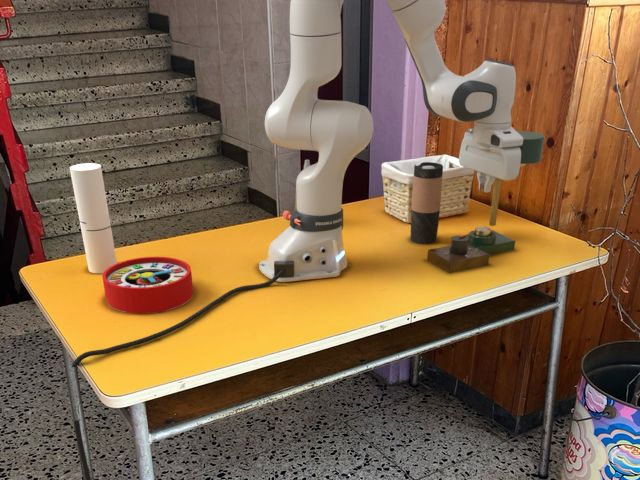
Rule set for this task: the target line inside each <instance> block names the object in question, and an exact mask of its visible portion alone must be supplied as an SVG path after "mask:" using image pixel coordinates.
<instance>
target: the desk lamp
mask: <svg viewBox="0 0 640 480" xmlns="http://www.w3.org/2000/svg"><path fill="white" fill-rule="evenodd" d="M515 131H516V132H518V133H519V134H520V135H521V136H522V137H523V144H522V146H518V147H519V148H520V150H521V162H520V168H524V167H525V166H526V165H529V164H530V165H533V164H537V163H540V162H541V161H542V157H543V152H544V145H545V144H544V143H545V138H546V136H545V135H544V134H543V133H539V132H536V131H525V130H521V131H520V130H519V131H518V130H515ZM501 186H502V179H499V178H496V179H495V181H494V182H493V188H492V196H491V205H490V214H489V223H488V225H489V226H491V227H495V226H497V220H498V219H497V218H498V210H499V204H500V203H499V202H500V196H501V195H500V194H501Z"/></svg>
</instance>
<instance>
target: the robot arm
mask: <svg viewBox="0 0 640 480" xmlns="http://www.w3.org/2000/svg"><path fill="white" fill-rule="evenodd" d="M344 1H345V0H290V4H289V41H290V46H289V47H290V64H289V65H290V66H289V67H290V68H289V75H288V79H287V83H286V85H285V87H284V89H283V91H282V92H281V93H280V95H279V96H278V97H277V98H276V99H275V100H274V101H273V102H271V104H270V105H269V106H268V109H267V110H266V113H265V116H264V130H265V134H266V136H267V138H268V140H269V141H270V143H272V144H273V145H276V146H279V147H282V148H285V149H289V150H298V151H299V150H301V151H314V152H318V161H317V162H315V163H314V164H310V166H309V167H307V168H305V169H304V168H303V169H304V170H303V169H302V170H301V171H300V172H299V173H298V175H297V177H296V180H295V194H296V201H297V208H296V209H295V211H294V210H293V213H292V212H290V211H289V210H284V211H283V213H282V218H283V219H285V220H286V221H289V224H290V225H289V226H287V228H286V229H284V230H283V231H282V232H281V233H280V234H279V235H278V236H277V237H276V238H275V239H273V240H272V241H271V242H270V243H269V246H268V251H267V258H266V259H264V260H261V261H260V262H259V264H258V265H259V266H258V268H259V271H260V272H261V274H263V275H264V276H265V277H266V278H268V279H270V280H268V281H265V282H262V283H258V284H249V285H248V284H247V285H241V286H238V287H235V288H233V289H230V290H228V291H227V292H226V293H224V294H222V295H221V296H219V297H218V298H215V299H214V300H213V301H211V302H210V303H209V304H207V305H205V306H204V307H203V308H201V309H200V310H198V311H197V312H195V313H193V314H192V315H190V316H189V317H187V318H186V319H184V320H181V321H180V322H178V323H176V324H174V325H172V326H170V327H168V328H166V329H163V330H161V331H159V332H155V333H154V334H151V335H148V336H144V337H141V338H139V339H135V340H132V341H129V342H123V343H121V344H117V345H114V346H110V347H106V348H103V349H95V350H89V351H85V352H83V353H81V354H79V355H78V356H76V358H75V359H74V360H73V362H72V364H71V368H76V367H78V366H79V365H80V363H81V362H82V361H83V360H84V359H86V358H89V357H93V356H94V357H95V356H101V355H107V354H111V353H113V352H117V351H121V350H124V349H127V348H131V347H135V346H139V345H142V344H145V343H148V342H151V341H154V340H156V339H159V338H161V337H165V336H166V335H168V334H171V333H173V332H175V331H177V330H179V329H181V328H182V327H185V326H186V325H189V324H190V323H191V322H192V321H194V320H196V319H197V318H199V317H200V316H202V315H203V314H205V313H207V312H208V311H209V310H211V309H212V308H213V307H215V306H217V305H218V304H219V303H221V302H223V301H225V300H226V299H227V298H229V297H230V296H233V295H234V294H236V293H239V292H242V291H247V290H248V291H249V290H254V289H262V288H266V287H268V286H270V285H273V284H274V283H275V282H279V283H288V282H290V283H291V282H297V281H298V282H299V281H308V280H318V279H326V278H327V279H328V278H337V277H339V276H340V275H341V272H342V271H343V270H345V269H346V268H347V267H348V261H347V257H346V252H345V247H344V246H345V245H344V239H343V238H344V237H343V230H344V209H343V207H342V205H343V201H342V200H343V185H344V180H345V179H344V178H345V174H346V171H347V169H348V167H349V166H350V163H351V162H352V160H353V159H354V158H355V157H357V155H358V154H359V153H361V152H362V151H364V149H366V148H367V147H368V146H369V144H370V142H371V140H372V138H373V135H374V119H373V116H372V113H371V111H370V110H369V108H368V107H367V106H366V105H362V104H359V103H355V102H352V101H348V100H332V99H331V100H329V99H320V98H318V92H319V87H320V88H321V86H324V85H326V84H328V83H329V82H330V81H332V80H334V79H335V78H336V77H337V76H338V75H339V73H340V71H341V69H342V19H341V14H342V8H343V4H344ZM386 2H387V4H388V5H387V6H388V7H389V9H390V11H391V13H392V15H393V17H394V19H395V21H396V23H397V25H398V27H399V29H400V30H401V34H402V36H403V38H404V41H405V44H406V46H407V50H408V52H409V54H410V57H411V59H412V61H413V64H414V66H415V69H416V71H417V74H418V76H419V79H420V82H421V86H422V95H423V103H424V105H425V106H424V107H426V109H427V111H428V112H429V113H430V114H431V115H432V116H434V117H438V118H446V119H449V120H452V121H457V122H459V123H470V122H473V127H469V128H468V129H467V130H466V131H465V132H464V135H463V139H462V140H461V144H460V148H459V155H458V159H459V163H460V165H461V166H463V167H466V168H469V169H472V170H474V172H476V179H477V182H478V188H477V189H478V191H481V192H483V193H486V194H487V193H491V192H492V186H493V185H494V181H495V179H496V178H499V179H501V181H507V182H508V181H514V180H516V179H517V178H518V176H519V174H520V169H521V167H520V162H521V150H520V148H519V147H518V146H522V144H523V137H522V136H521V135H520V134H519V133H518V132H516V131H517V130H516V129H515V128H514V127H513V126H512V108H513V106H514V102H515V96H516V86H517V73H516V68H515V66H514V65H513V64H511V63H510V62H505V61H502V60H495V59H485V60H484V61H482V63H481V65H479V66H478V67H477V68H476V69H474V70H473V71H470V72H469V73H467V74H464V76H463V75H458V74H456V73H454V72H452V71H451V70H450V69H448V67H447V66H446V64H445V62H444V60H443V56H442V54H441V51H440V48H439V46H438V44H437V41H436V38H435V37H436V36H435V32H436V31H437V29H438V28H439V27H440V26H441V24H442V22H443V21H444V18H445V15H446V10H447V6H446V0H386ZM73 424H74V430H75V436H76V442H77V446H78V451H79V455H80V461H81V465H82V468H83V472H84V478H85V480H92V478H91V477H92V476H91V474H90V469H89V465H88V462H87V455H86V452H85V447H84V441H83V436H82V431H81V425H80V419H77V420H74V421H73Z"/></svg>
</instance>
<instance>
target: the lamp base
mask: <svg viewBox="0 0 640 480" xmlns="http://www.w3.org/2000/svg"><path fill="white" fill-rule="evenodd" d="M463 235H464V234H463ZM463 235H461V236H463ZM465 235H466V237H468V238H469V241H468V244H470V245H472V246H474V247H476V248H478V249H480V250H482V251H484V252H486V253H488V254H490V256H491V255H492V256H493V255H496V254H501V253H507V252H512V251H515V247H516V240H515V239H513V238H511V237H508V236H506V235H505V234H502V233H500V232H498V231H496V230H493V229H491V233H490V236H489V237H479V236H476V235H475V230H471V231H469V232H468V233H467V234H465Z"/></svg>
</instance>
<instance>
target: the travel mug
mask: <svg viewBox="0 0 640 480" xmlns="http://www.w3.org/2000/svg"><path fill="white" fill-rule="evenodd" d="M442 174H443V165H441V164H438V163H432V162H424V163H421V164H420V165H418V166H416V165H415V166H414V179H413V193H412V208H411V223H410V241H411V243H415V244H418V245H432V244H434V243H436V242H437V240H438V230H439V221H440V218H439V213H440V202H441V188H442Z"/></svg>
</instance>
